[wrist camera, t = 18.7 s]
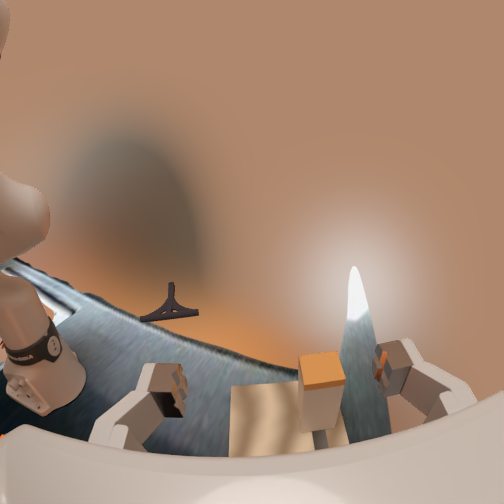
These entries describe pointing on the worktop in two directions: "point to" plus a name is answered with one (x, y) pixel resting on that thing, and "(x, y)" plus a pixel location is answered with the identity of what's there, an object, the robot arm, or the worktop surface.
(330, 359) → the orange-capped beige carton
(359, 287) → the worktop surface
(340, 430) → the subfloor panel
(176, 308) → the bracket
